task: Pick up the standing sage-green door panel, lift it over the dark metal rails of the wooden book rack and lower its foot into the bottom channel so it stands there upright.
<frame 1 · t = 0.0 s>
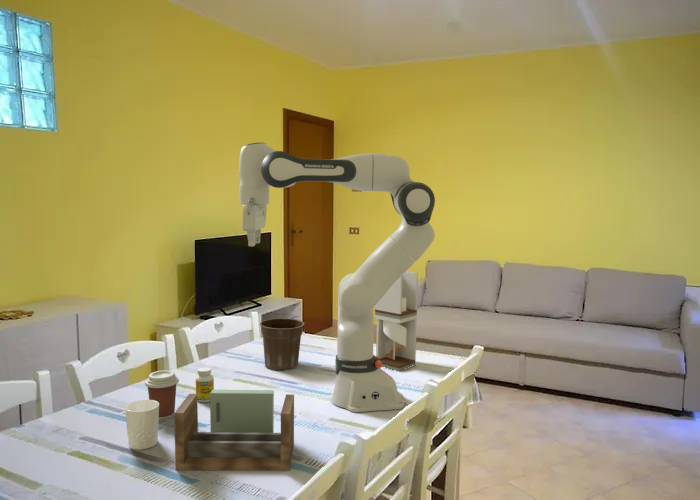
hand: (254, 244, 162), 48 cm above the table, tool pointing down, fingers open, 8 cm apart
white cup: (143, 444, 137), on the table
plant pot: (282, 366, 201), on the table
supplement bottle: (204, 400, 167), on the table
wooden book rack: (237, 457, 130), on the table
door panel: (242, 436, 142), on the table
display case: (394, 365, 204), on the table
coffee cup: (162, 415, 155), on the table
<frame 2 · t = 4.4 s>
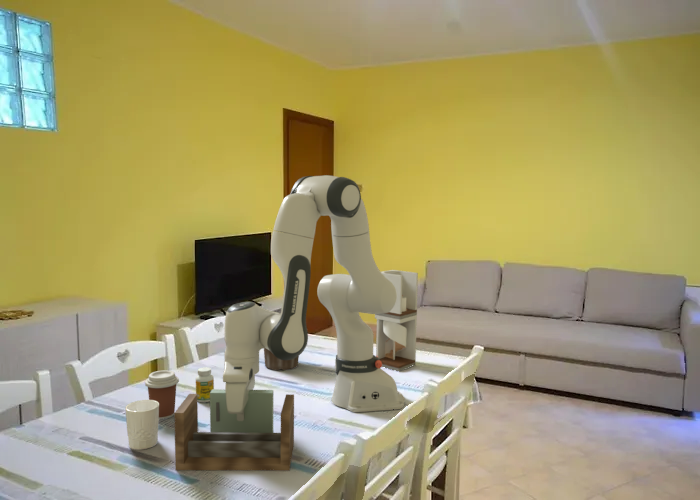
hand: (242, 416, 142), 5 cm above the table, tool pointing down, fingers closed on door panel, 2 cm apart
door panel: (242, 435, 142), on the table, touching gripper
everything else where it was.
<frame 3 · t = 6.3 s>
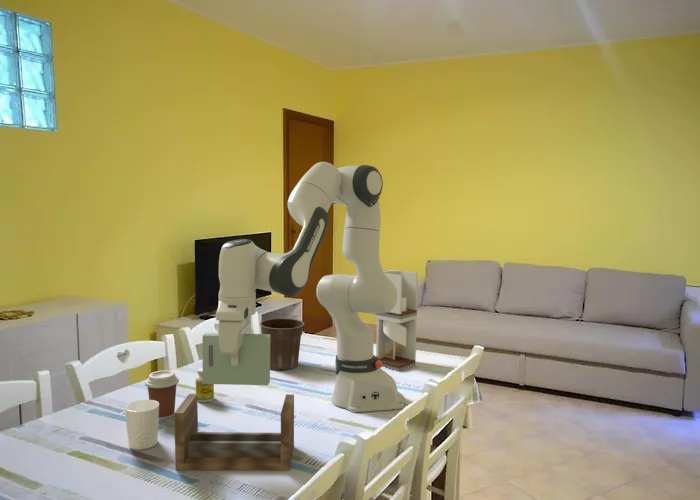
hand: (236, 362, 133), 22 cm above the table, tool pointing down, fingers closed on door panel, 2 cm apart
door panel: (236, 382, 133), point 17 cm above the table, touching gripper
everything else where it was.
when the fingers open (8 cm above the table, at t = 8.6 s): door panel stays where it is, resting on wooden book rack.
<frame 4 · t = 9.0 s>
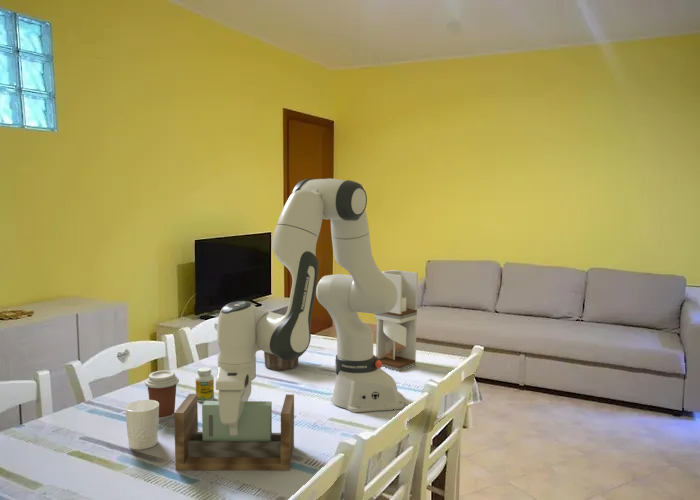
hand: (237, 427, 129), 8 cm above the table, tool pointing down, fingers open, 6 cm apart
door panel: (237, 451, 130), point 1 cm above the table, touching wooden book rack
everything else where it was.
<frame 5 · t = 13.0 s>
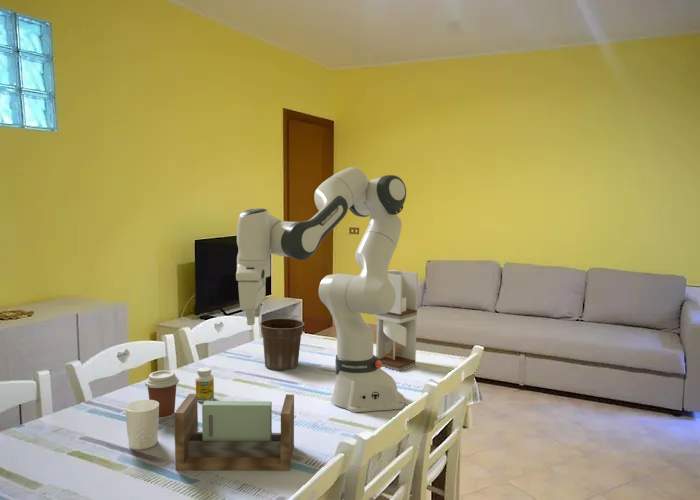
hand: (253, 320, 146), 29 cm above the table, tool pointing down, fingers open, 8 cm apart
nothing on the table moved.
at the end: door panel inside the target area on the wooden book rack (0.1 cm from its centre), point 1.5 cm above the wooden book rack's base; door panel tilted 0°; the gripper is holding nothing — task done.
